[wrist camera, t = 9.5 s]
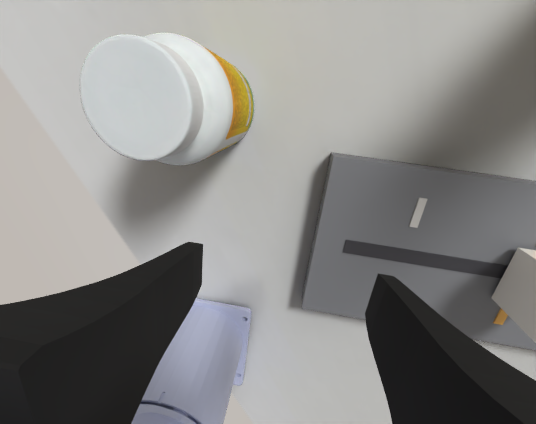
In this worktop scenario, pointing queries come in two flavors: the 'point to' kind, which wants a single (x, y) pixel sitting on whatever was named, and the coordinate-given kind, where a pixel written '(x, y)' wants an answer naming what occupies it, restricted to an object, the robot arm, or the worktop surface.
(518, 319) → the fader cap
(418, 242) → the fader console
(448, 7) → the worktop surface
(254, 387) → the worktop surface
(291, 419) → the worktop surface
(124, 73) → the supplement bottle
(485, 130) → the worktop surface
